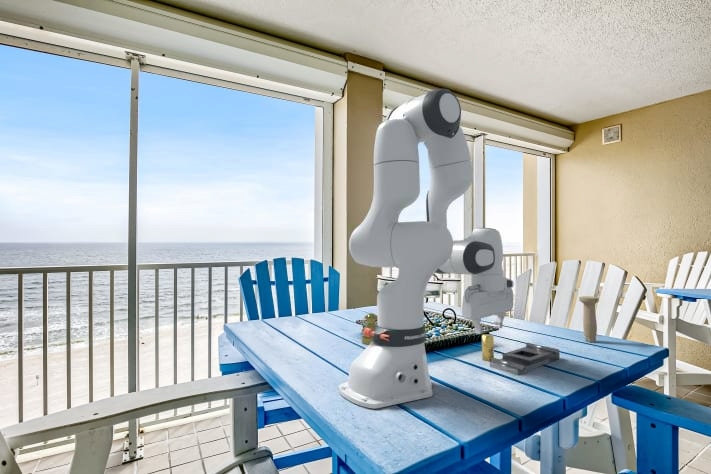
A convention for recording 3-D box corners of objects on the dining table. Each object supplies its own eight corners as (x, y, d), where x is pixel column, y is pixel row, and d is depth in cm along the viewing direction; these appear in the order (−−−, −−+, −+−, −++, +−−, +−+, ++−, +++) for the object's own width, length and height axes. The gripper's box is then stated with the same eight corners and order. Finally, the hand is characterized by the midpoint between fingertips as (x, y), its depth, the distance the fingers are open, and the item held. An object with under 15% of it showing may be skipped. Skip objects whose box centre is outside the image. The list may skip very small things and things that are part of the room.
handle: (577, 340, 124) (575, 297, 125) (589, 338, 127) (587, 295, 128) (591, 344, 120) (590, 298, 120) (603, 341, 123) (601, 297, 123)
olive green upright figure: (386, 341, 128) (385, 312, 128) (375, 346, 122) (375, 316, 122) (368, 338, 132) (367, 311, 132) (357, 343, 126) (356, 314, 126)
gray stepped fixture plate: (519, 375, 92) (519, 367, 92) (488, 366, 99) (488, 358, 99) (551, 363, 101) (550, 355, 101) (520, 355, 108) (520, 348, 108)
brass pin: (489, 362, 103) (489, 337, 103) (480, 359, 105) (479, 335, 105) (496, 360, 104) (495, 335, 105) (486, 357, 107) (486, 333, 107)
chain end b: (532, 370, 95) (531, 358, 95) (501, 362, 102) (500, 350, 103) (561, 359, 104) (561, 347, 104) (531, 352, 112) (530, 341, 112)
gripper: (474, 287, 97) (476, 339, 97) (516, 280, 109) (518, 326, 109) (455, 285, 102) (457, 334, 102) (498, 279, 114) (499, 323, 114)
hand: (489, 330), depth 106 cm, fingers open, 8 cm apart
